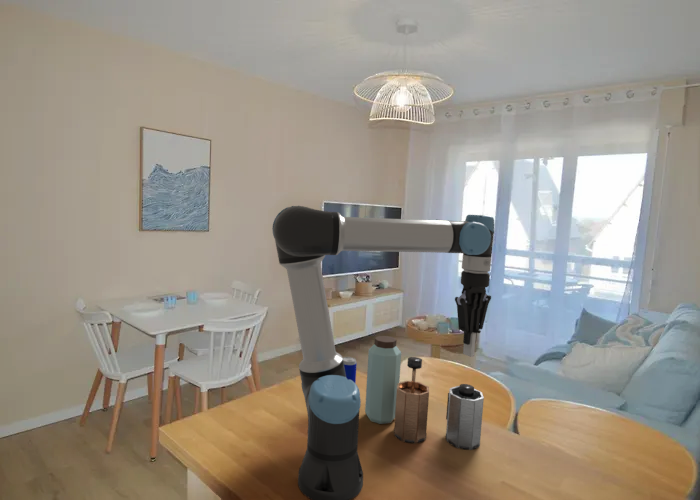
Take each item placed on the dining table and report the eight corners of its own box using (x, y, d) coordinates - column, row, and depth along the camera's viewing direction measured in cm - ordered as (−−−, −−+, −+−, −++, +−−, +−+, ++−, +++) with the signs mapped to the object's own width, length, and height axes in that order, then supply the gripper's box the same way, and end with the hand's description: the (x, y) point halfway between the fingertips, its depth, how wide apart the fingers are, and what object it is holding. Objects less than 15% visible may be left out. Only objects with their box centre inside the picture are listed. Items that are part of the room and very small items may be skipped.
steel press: (464, 453, 111) (468, 403, 110) (436, 435, 119) (439, 388, 118) (486, 443, 116) (490, 395, 115) (458, 427, 125) (461, 382, 123)
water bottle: (396, 411, 133) (401, 335, 130) (397, 427, 123) (402, 345, 121) (365, 408, 134) (370, 333, 131) (363, 423, 124) (368, 342, 122)
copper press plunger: (412, 402, 113) (414, 365, 112) (396, 393, 119) (398, 357, 118) (429, 397, 117) (431, 361, 116) (412, 388, 123) (415, 354, 122)
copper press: (409, 446, 113) (412, 397, 111) (384, 429, 121) (387, 383, 120) (433, 437, 118) (436, 390, 117) (408, 421, 126) (411, 377, 125)
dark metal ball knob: (465, 431, 112) (468, 393, 111) (447, 420, 118) (449, 384, 117) (480, 425, 116) (484, 388, 115) (462, 415, 121) (465, 380, 120)
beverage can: (336, 401, 138) (338, 357, 136) (350, 398, 140) (352, 355, 139) (342, 407, 133) (344, 362, 132) (356, 405, 135) (359, 361, 134)
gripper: (471, 274, 106) (463, 363, 108) (502, 272, 114) (494, 355, 116) (449, 270, 112) (442, 354, 114) (479, 268, 120) (472, 347, 122)
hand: (468, 354), depth 115 cm, fingers closed
